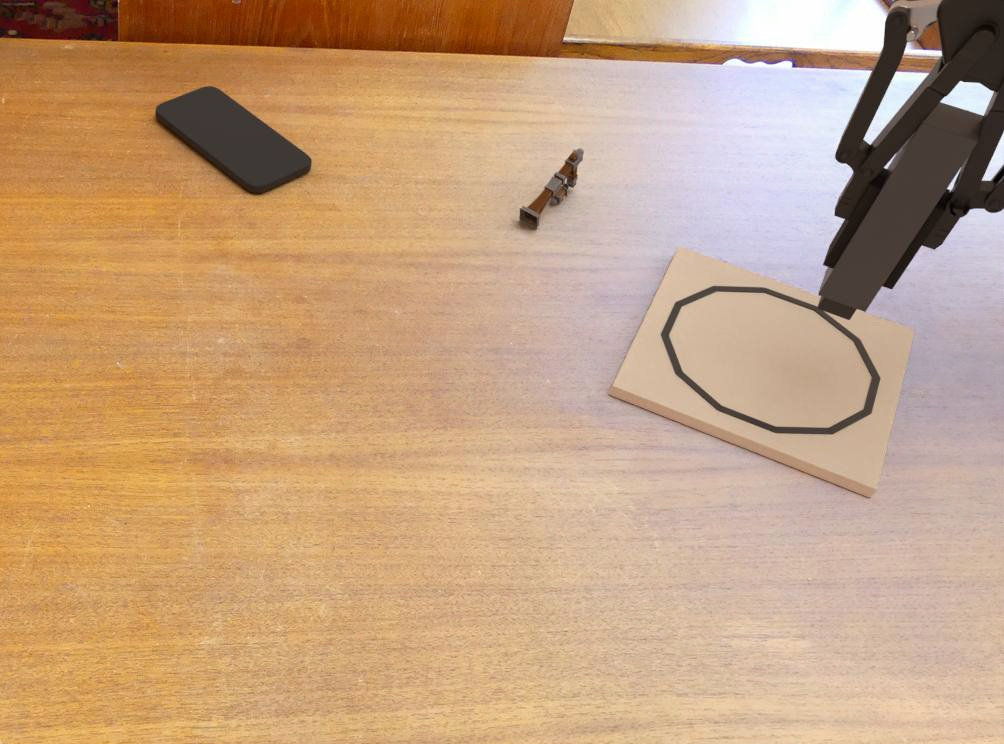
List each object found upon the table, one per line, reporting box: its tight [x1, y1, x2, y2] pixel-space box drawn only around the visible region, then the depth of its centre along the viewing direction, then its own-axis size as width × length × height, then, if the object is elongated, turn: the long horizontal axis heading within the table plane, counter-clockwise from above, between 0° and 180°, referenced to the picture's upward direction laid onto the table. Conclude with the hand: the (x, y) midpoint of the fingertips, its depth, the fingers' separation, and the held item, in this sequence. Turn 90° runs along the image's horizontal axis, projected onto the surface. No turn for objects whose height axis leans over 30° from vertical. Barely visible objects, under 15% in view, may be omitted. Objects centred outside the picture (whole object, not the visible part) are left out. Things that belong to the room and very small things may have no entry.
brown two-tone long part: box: [518, 147, 585, 230], centre depth 98 cm, size 2×8×4 cm, turn 140°
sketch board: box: [608, 245, 916, 499], centre depth 88 cm, size 20×20×1 cm
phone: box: [155, 85, 313, 194], centre depth 101 cm, size 7×1×15 cm
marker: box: [817, 101, 984, 320], centre depth 76 cm, size 3×3×15 cm
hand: (860, 266), depth 79 cm, fingers closed on marker, 3 cm apart
